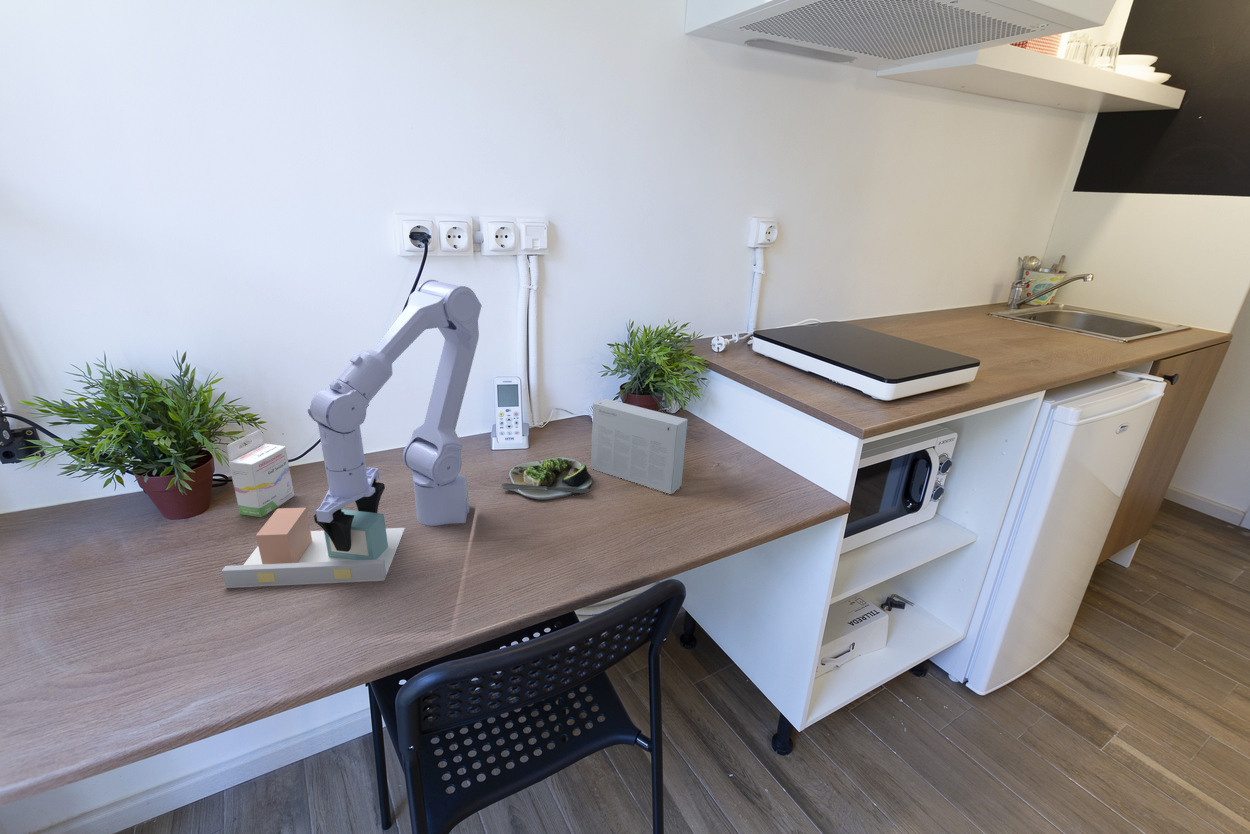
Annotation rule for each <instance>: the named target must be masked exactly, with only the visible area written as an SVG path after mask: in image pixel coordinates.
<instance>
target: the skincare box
mask: <svg viewBox="0 0 1250 834" xmlns="http://www.w3.org/2000/svg"><path fill="white" fill-rule="evenodd" d="M688 422H689V421H688V418H683V417H680V416H675V415H672V414H668V413H664V412H660V411H657V410H652V409H648V408H645V407H640V406H637V405H633V404H628V403H624V402H620V401H617V400H614V399H610V398H602V399H600V400H598V401H596V402H593V403H592V428H591V452H590V453H591V456H590V457H591V458H590V470H593V469H594V471H596V470H597V472H599V471H600V473H602V472H603V474H605V473H606V474H605V475H608V474H610V475H609V476H611V475H613V476H612V477H614V476H616V477H615V478H617V477H619V478H618V479H620V478H622V479H621V480H623V479H625V480H624V481H626V480H628V481H627V482H629V481H631V482H630V483H632V482H635V483H634V484H636V483H638V484H637V485H639V484H641V485H640V486H642V485H644V486H643V487H645V486H647V487H646V488H648V487H650V488H649V489H651V488H654V489H657V490H660V491H663V492H666V493H669V494H672V493H673V492H674V493H676V492H677V491H678V490H679V489H680V488H679V487H680V486H681V487H682V485H683V484H682V483H683V472H684V461H685V453H686V452H685V451H686V442H687V432H688V431H687V430H688ZM678 488H679V489H678ZM654 489H653V490H654ZM677 489H678V490H677ZM657 490H656V491H657ZM676 490H677V491H676ZM660 491H659V492H660ZM675 491H676V492H675ZM663 492H662V493H663ZM666 493H665V494H666ZM674 493H673V494H674ZM669 494H668V495H669ZM673 494H672V495H673Z"/></svg>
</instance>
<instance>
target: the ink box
mask: <svg viewBox="0 0 1250 834" xmlns="http://www.w3.org/2000/svg"><path fill="white" fill-rule="evenodd" d="M249 441H251V442H250V443H248V444H247V445H244V446H243V447H240V446H241V445H243V444H244V443H245V442H249ZM226 451H227V456H228V466H229V471H230V474H231V480H232V483H233V488H234V492H235V497H236V498H235V499H236V502H237V506H238V510H239V514H240V515H244V516H250V517H258V518H264V517H265V516H266V515H268V514H269V513H271V512H273V511H275V510H276V509H278V508H279V507H280V506H281V505H283V504H284V503H286V502H287V501H289V500H290V499H291V498H293V497H295V492H294V487H293V482H292V481H293V480H292V474H291V471H290V465H289V459H288V453H287V448H286V446H285V445H279V444H271V443H264V438H263V432H262V429H258V430H256V431H254V432H252V433H249V434H247V435H244V436H243V437H241V438H239V439H237V440H235V441H233V442H230V443H229V444H227V446H226Z"/></svg>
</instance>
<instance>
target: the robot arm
mask: <svg viewBox="0 0 1250 834" xmlns="http://www.w3.org/2000/svg"><path fill="white" fill-rule="evenodd" d="M481 308H482V304H481V302H480V300H479V298H478V296H477V295H476V293H475V291H474V290H473V289H471V288H470V287H468V286H466V285H465V286H463V285H456V284H451V283H447V282H441V281H439V280H436V279H426V280H423V281H422V282H421V283H419V285H418V286H417V288H416V290H414V291H413V292H411V293H410V295H409V296H408V301H407V304H406V306H405V308H404V310H403V311H402V312H401V313H400V314H399V316H398V317H397V319H396V320H395V321H394V322H393V324H392V325H391V326H390V328H389V329H388V330H387V331H386V333H385V334H384V336H382V338H381V339H380V341H379V342H378V343H377V345H376V346H375V347H374V348H373V349H371V350H363V351H360V353H359V354H354V355H353V356H352V357H351V358H350V359H349V362H350V363H349V365H348V366H347V367H346V369H344V370H343V372H341V374H340V375H339V376H338V377H337V378H336V379H335V380H332V381H331V382H330V384H329V387H328V388H327V387H326V388H325V389H321V390H320V391H318V392H316V394H315V395H314V396H313V398H312V400H311V402H310V405H309V407H310V408H308V409H307V413H308V416H309V417H310V418H311V420H312V421H314V422H315V423H317V425H318V426H317V427H318V431H319V432H318V433H319V438H320V444H321V450H322V457H323V461H324V468H325V474H326V479H327V486H328V490H327V492H326V494H325V496H324V498H323V500H322V502H321V504H320V506H319V507H318V508H317V509H315V514H314V515H313V519H314V520H313V521H314V523H316V524H317V525H319V527H321V529H322V530H323V531H325V532H326V533H327V534H328V536H329V537H330V539H331V541H332V542H333V544H334V546H335V548H336V550H337V551H345V552H348V551H349V550H350V549H351V525H352V521H353V518H354V515H348V514H344V512H342V510H341V509H344V508H345V507H346V506H349V505H350V504H352V503H355V505H356V508H357V511H362V512H371V513H378V511H379V504H380V501H381V498H382V494H383V493H384V491H385V489H386V488H385V487H386V486H385V483H384V482H380V481H379V482H377V481H378V480H379V479H380V478H381V477H380V472H379V468H377V467H366V466H367V465H366V459H365V452H364V446H363V437H362V432H361V426H362V424H364V422H365V421H366V420H365V419H366V416H367V409H368V407H369V406H370V402H371V401H372V400H373V399H374V398H375V396H376V395H377V394H378V393H379V392H380V390H381V389H382V388H383V386H384V385H385V384H386V383H387V382H388V381H389V380H390V379H391V377H392V376H393V364H394V362H395V361H396V360H397V359H398V358H399V357H400V356H401V355H402V354H403V353H404V352H405V351H406V350H407V349H408V348H409V347H410V346H411V344H413V343H414V342H415V340H417V339H418V338H419V337H420V335H421V334H422V333H424V331H426V330H431V329H438V330H439V332H440V334H441V336H443V339H444V343H443V346H442V350H441V355H440V359H439V362H438V366H437V370H436V374H435V378H434V382H433V385H432V391H431V394H430V398H429V399H430V400H429V403H428V405H427V410H426V415H425V417H424V423H422V425H420V426H418V427H417V428H415V429H414V430H412V431H413V432H412V435H411V437H410V440H409V442H408V443H407V444H406V445H405V447H404V449H403V452H402V461H403V464H404V465H405V466H406V468H408V469H410V471H411V472H410V475H411V476H412V480H413V481H412V482H413V493H414V501H415V502H414V503H415V511H416V519H417V521H418V522H419V523H420V524H422V525H424V526H429V527H430V526H432V527H435V526H442V525H448V524H450V525H451V524H465V523H466V522H467V517H468V514H469V513H470V502H469V501H470V500H469V486H468V478H467V475H460V472H461V469H462V465H463V464H462V463H463V461H462V455H461V454H462V449H463V444H462V441H461V439H460V438H459V436H458V434H457V432H456V428H457V424H458V420H459V416H460V412H461V409H462V405H463V400H464V397H465V393H466V389H467V385H468V381H469V377H470V373H471V369H472V365H473V362H474V357H475V354H476V349H477V345H478V342H479V338H480V335H479V334H480V333H479V331H480V330H479V319H480V313H481V311H482V309H481Z"/></svg>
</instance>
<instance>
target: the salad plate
mask: <svg viewBox="0 0 1250 834" xmlns="http://www.w3.org/2000/svg"><path fill="white" fill-rule="evenodd" d="M508 476H509V479H510V481H511V483H502V484H501V485H500V487H501V490H502V489H503V490H508V491H512V492H515V493H518V494H520V495H521V496H524V497H527V498H531V499H535V500H541V501H542V500H545V501H547V500H553V499H558V498H559V499H560V498H567V496H568V497H572V496H573V495H574V496H579V495H582V494H586V493H590V492H591V491H592V490H591V489H590V488H591V487H592V485H593V483H594V480H593V477H592V475H591V474H590V473H589V472H588V468H587V465H586V464H582V463H581V462H580V461H578V460H577V459H574V458H569V457H559V456H558V457H552V458H548V459H542V460H538V461H537V460H536V461H530V462H523V463H518V464H517V465H514V467H513V468H512V469H511V470H510V471H509V472H508ZM574 496H573V497H574Z"/></svg>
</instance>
